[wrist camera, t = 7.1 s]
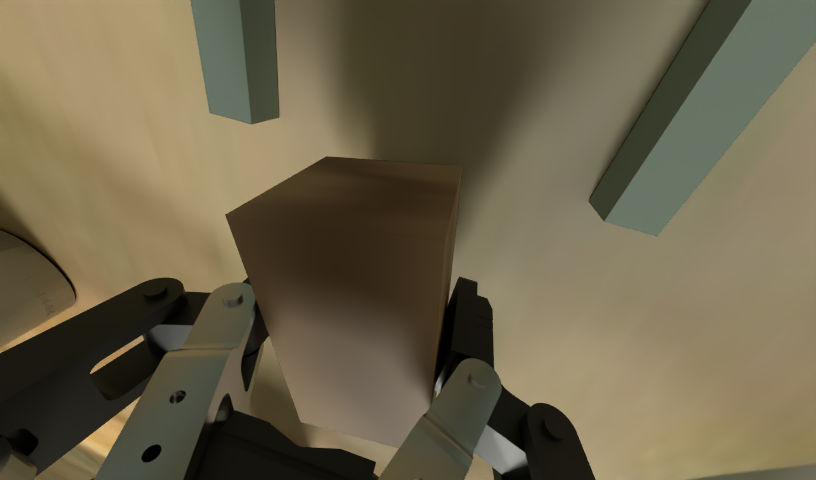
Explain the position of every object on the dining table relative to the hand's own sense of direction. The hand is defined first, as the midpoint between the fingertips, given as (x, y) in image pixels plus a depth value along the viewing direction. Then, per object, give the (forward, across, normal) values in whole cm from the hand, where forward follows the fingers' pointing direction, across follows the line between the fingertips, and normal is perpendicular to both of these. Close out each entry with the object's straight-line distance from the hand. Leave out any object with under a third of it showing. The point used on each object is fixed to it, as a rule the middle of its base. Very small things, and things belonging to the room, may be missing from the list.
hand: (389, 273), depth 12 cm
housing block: (+1, 0, 0) cm, 1 cm away
